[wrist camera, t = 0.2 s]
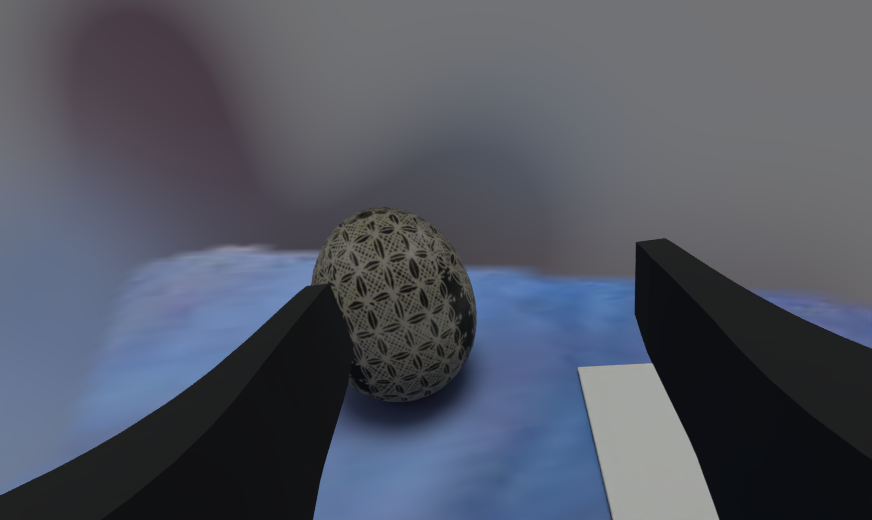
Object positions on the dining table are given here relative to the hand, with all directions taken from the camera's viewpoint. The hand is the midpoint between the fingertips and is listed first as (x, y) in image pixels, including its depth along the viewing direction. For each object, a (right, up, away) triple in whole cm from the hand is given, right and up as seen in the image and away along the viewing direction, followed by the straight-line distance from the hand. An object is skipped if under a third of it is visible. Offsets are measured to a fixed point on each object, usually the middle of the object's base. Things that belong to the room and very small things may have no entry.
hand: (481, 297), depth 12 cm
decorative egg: (-3, -9, +28) cm, 29 cm away
